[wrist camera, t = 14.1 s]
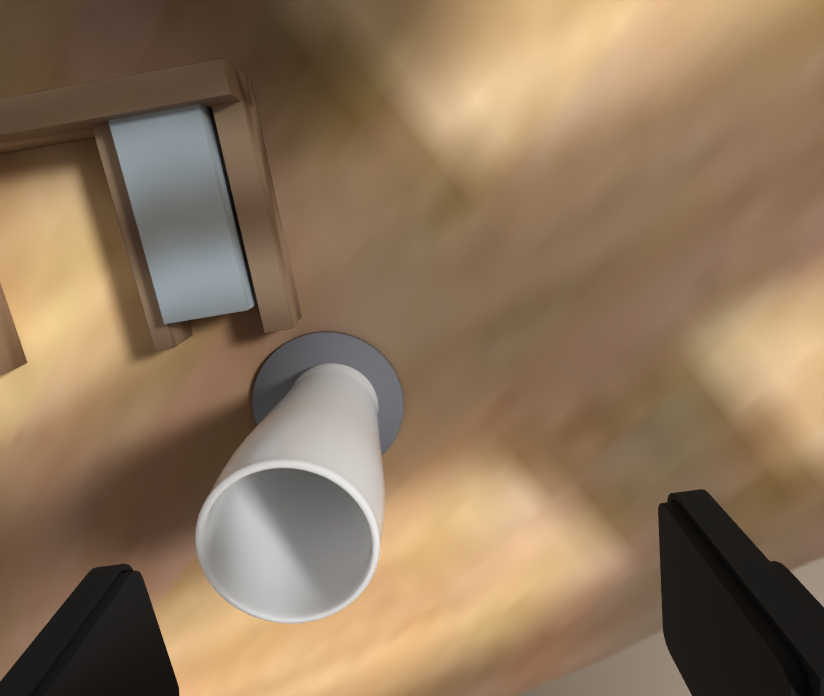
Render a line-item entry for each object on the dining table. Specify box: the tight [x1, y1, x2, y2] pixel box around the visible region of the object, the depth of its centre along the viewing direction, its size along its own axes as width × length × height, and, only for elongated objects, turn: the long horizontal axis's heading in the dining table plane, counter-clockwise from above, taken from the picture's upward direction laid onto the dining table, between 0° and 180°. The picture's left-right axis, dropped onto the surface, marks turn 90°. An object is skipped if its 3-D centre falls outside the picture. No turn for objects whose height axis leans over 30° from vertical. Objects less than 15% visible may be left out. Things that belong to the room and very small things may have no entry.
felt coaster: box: [252, 331, 403, 455], centre depth 36 cm, size 9×9×1 cm
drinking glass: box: [195, 363, 385, 623], centre depth 29 cm, size 7×7×15 cm
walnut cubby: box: [0, 59, 301, 375], centre depth 31 cm, size 13×18×5 cm
